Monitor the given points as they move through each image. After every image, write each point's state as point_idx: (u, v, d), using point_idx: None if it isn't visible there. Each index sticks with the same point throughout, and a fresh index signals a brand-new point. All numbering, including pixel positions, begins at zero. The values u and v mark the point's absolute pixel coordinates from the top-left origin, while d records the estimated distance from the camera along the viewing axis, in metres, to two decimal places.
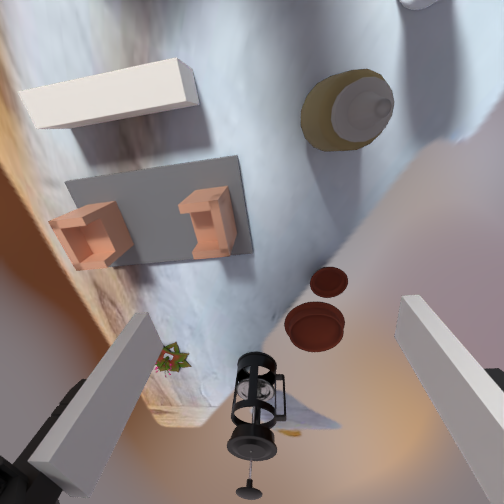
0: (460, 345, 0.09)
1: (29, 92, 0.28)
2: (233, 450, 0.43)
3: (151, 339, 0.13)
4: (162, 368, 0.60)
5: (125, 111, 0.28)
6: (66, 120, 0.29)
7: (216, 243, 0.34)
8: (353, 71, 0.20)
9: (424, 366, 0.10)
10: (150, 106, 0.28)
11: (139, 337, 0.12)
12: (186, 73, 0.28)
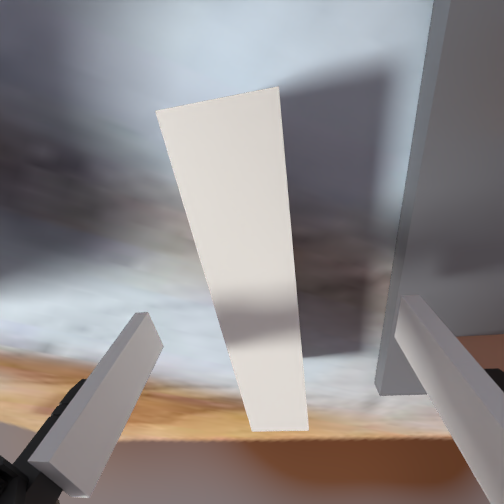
0: (460, 345, 0.09)
1: (253, 420, 0.16)
2: None
3: (151, 339, 0.13)
4: None
5: (294, 288, 0.11)
6: (300, 391, 0.14)
7: None
8: None
9: (424, 366, 0.10)
10: (287, 222, 0.09)
11: (139, 337, 0.12)
12: None
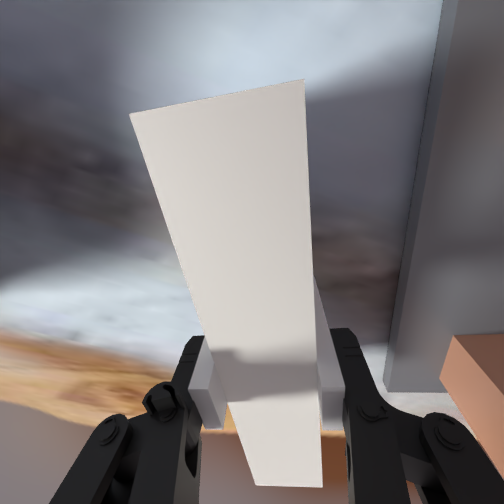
0: (323, 311, 0.11)
1: (257, 474, 0.14)
2: None
3: None
4: None
5: (313, 338, 0.08)
6: (314, 449, 0.12)
7: None
8: None
9: None
10: (308, 261, 0.07)
11: None
12: None
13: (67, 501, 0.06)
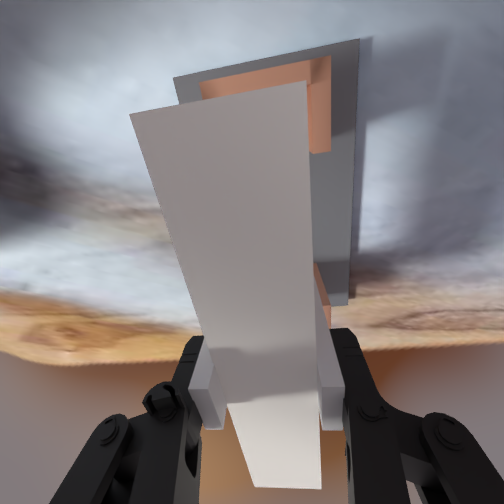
0: (323, 311, 0.11)
1: (256, 476, 0.14)
2: None
3: None
4: None
5: (313, 340, 0.08)
6: (313, 450, 0.12)
7: None
8: None
9: None
10: (309, 263, 0.07)
11: None
12: None
13: (67, 501, 0.06)
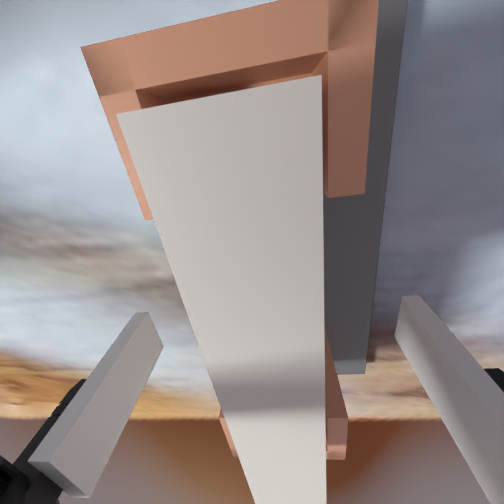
0: (460, 345, 0.09)
1: (258, 495, 0.13)
2: None
3: (151, 339, 0.13)
4: None
5: (321, 361, 0.08)
6: (319, 472, 0.11)
7: None
8: None
9: (424, 366, 0.10)
10: (319, 280, 0.06)
11: (139, 337, 0.12)
12: None
13: None
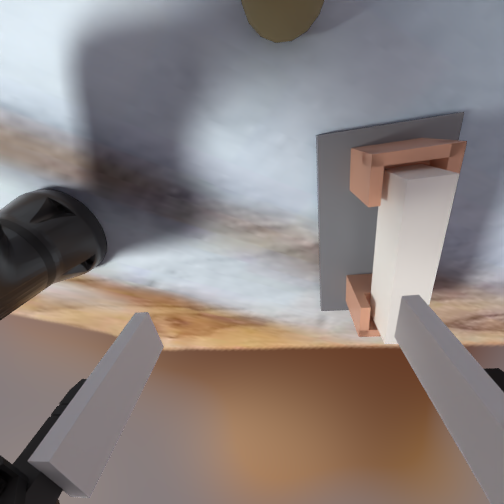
0: (460, 345, 0.09)
1: (388, 335, 0.29)
2: None
3: (151, 339, 0.13)
4: None
5: (439, 253, 0.23)
6: None
7: (434, 164, 0.24)
8: None
9: (424, 366, 0.10)
10: (446, 223, 0.22)
11: (139, 338, 0.12)
12: (405, 173, 0.23)
13: None
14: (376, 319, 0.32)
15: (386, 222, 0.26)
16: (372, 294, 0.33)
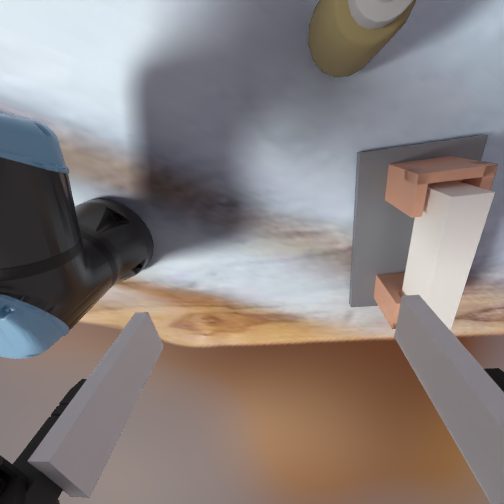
0: (461, 345, 0.09)
1: None
2: None
3: (151, 339, 0.13)
4: None
5: (472, 256, 0.28)
6: (455, 308, 0.31)
7: (467, 181, 0.29)
8: (333, 8, 0.19)
9: (424, 366, 0.10)
10: (481, 231, 0.26)
11: (139, 337, 0.12)
12: (446, 189, 0.27)
13: None
14: None
15: (424, 229, 0.30)
16: (404, 291, 0.37)
